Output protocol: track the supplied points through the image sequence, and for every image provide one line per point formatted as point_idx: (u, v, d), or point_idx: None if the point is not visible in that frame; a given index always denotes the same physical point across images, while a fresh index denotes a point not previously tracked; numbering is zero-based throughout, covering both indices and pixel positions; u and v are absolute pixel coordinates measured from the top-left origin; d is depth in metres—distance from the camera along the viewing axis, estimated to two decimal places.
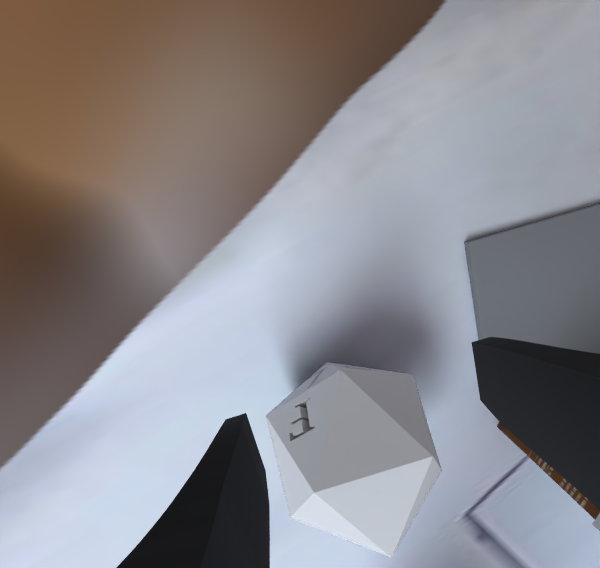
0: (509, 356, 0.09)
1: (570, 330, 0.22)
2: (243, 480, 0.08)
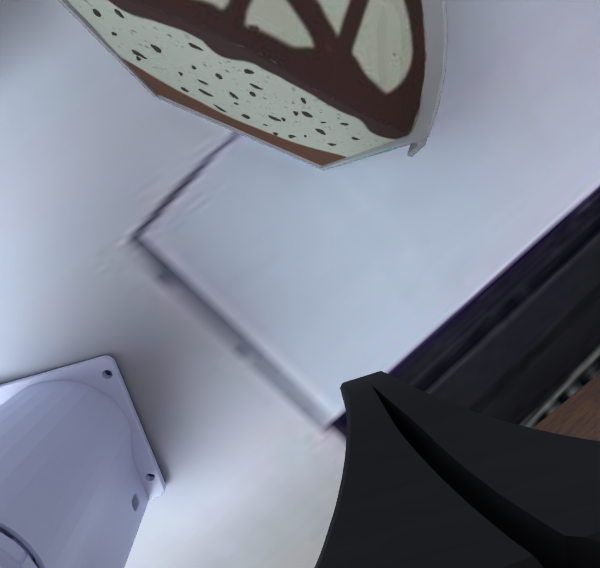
0: (381, 397, 0.08)
1: None
2: None
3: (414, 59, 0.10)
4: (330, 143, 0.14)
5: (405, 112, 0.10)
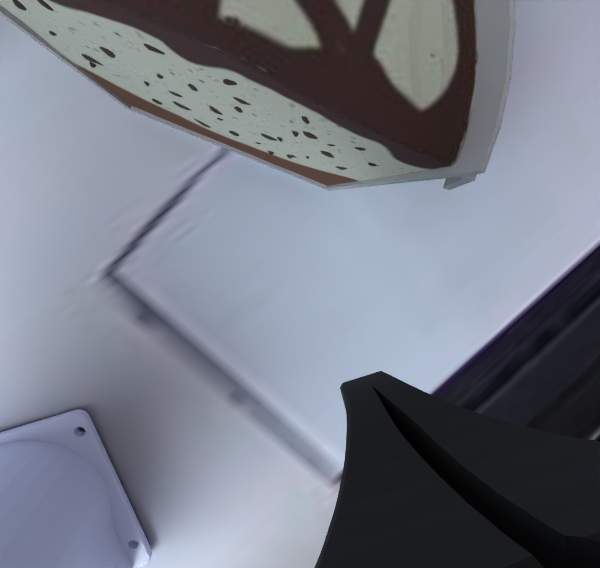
0: (381, 397, 0.08)
1: None
2: None
3: (460, 61, 0.07)
4: (339, 166, 0.11)
5: (447, 135, 0.07)
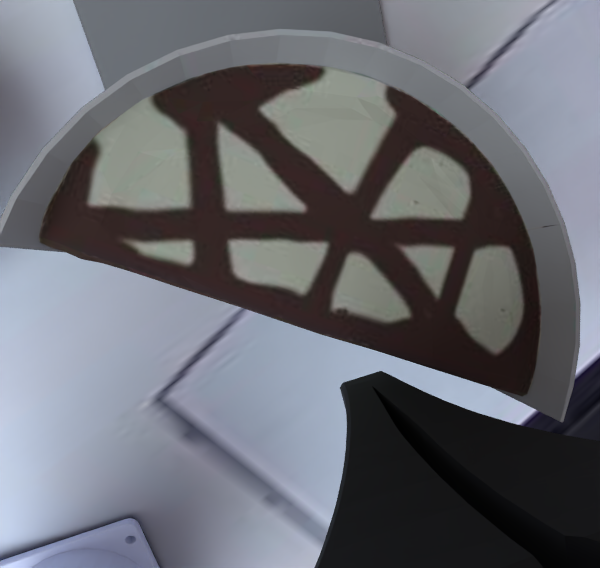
0: (381, 397, 0.08)
1: None
2: None
3: (526, 313, 0.08)
4: None
5: (519, 373, 0.08)
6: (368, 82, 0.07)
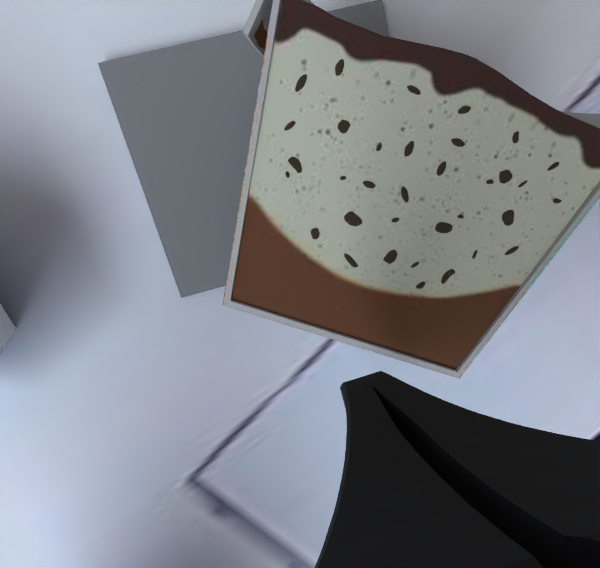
0: (381, 397, 0.08)
1: None
2: None
3: None
4: (511, 248, 0.11)
5: None
6: None
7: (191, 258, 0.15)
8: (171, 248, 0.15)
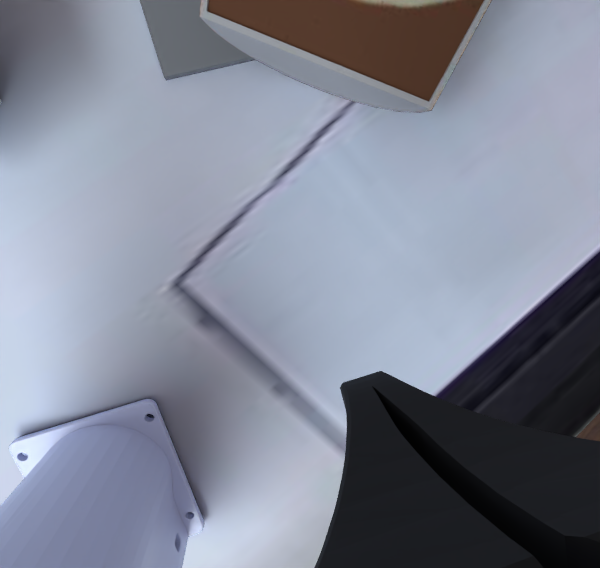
0: (381, 397, 0.08)
1: None
2: None
3: None
4: None
5: None
6: None
7: (173, 34, 0.16)
8: (153, 21, 0.16)
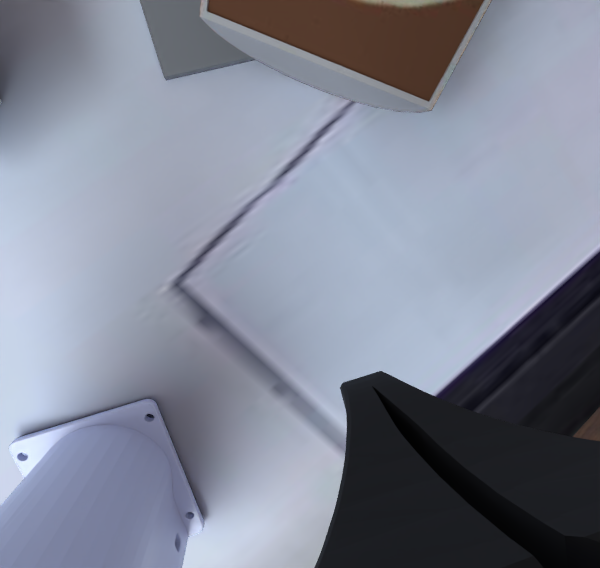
0: (381, 397, 0.08)
1: None
2: None
3: None
4: None
5: None
6: None
7: (173, 34, 0.16)
8: (153, 21, 0.16)
